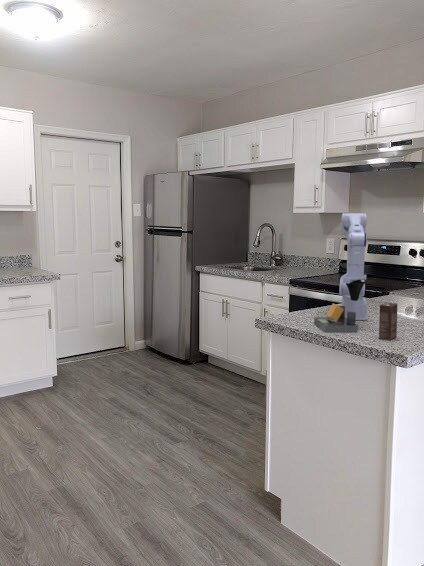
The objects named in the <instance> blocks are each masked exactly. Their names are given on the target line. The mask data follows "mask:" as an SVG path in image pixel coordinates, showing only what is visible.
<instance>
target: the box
mask: <svg viewBox="0 0 424 566" xmlns="http://www.w3.org/2000/svg"><path fill="white" fill-rule="evenodd" d="M378 323H379V326H378V327H379V328H378V332H379V333H378V339H380V340H385V341H386V340H387V341H392V340H393V339H395V338H397V334H398V332H397V331H398V303H396V302H395V303H394V302H384V303H382V304H380V305H379V321H378Z"/></svg>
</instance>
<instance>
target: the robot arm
mask: <svg viewBox="0 0 424 566" xmlns="http://www.w3.org/2000/svg"><path fill="white" fill-rule="evenodd" d="M367 219H368V218H367V214H366V213H365V212H364V213H361V212H360V213H359V212H357V213H356V212H355V213H350V212H349V213H346V212H343V213H342V214H341V224H340V225H341V231H340V232H341V234H342V236H344V237H345V238H346V242H347V243H346V246H347V247H346V248H347V250H346V252H347V255H346V273H344V274H343V275H342V276H341V277H340V278H339V289H338V291H339V296H340V297H341V298H342V299H341V300H342V301H341V306H345V318H347V312H355V313H356V321H367V320H368V319H367V309H368V303H367V302H368V301H367V299H366V297H364V296H365V291H366V282H365V281H366V280H367V274H364V273H365V256H366V255H365V254H366V253H365V252H366V248H367V243H368V236H367V235H368V234H367V232H366V227H367Z"/></svg>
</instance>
